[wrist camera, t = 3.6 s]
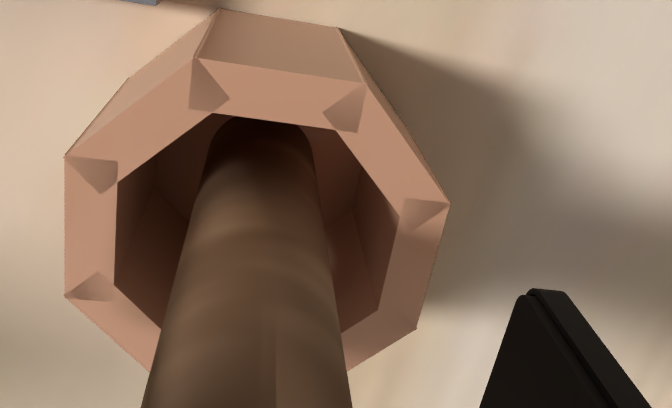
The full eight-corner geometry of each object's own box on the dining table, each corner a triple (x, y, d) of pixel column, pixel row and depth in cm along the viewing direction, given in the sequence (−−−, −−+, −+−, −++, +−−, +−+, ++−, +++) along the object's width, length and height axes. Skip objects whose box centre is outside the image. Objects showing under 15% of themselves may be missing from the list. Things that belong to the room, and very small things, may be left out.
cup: (417, 40, 18) (480, 99, 13) (364, 277, 21) (396, 405, 16) (130, -8, 17) (63, 36, 11) (120, 251, 20) (63, 380, 15)
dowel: (321, 118, 18) (435, 639, 5) (304, 214, 19) (365, 823, 6) (212, 103, 17) (53, 634, 5) (203, 201, 19) (55, 831, 6)
